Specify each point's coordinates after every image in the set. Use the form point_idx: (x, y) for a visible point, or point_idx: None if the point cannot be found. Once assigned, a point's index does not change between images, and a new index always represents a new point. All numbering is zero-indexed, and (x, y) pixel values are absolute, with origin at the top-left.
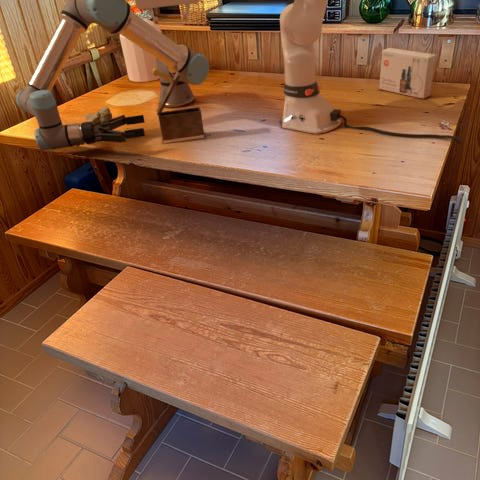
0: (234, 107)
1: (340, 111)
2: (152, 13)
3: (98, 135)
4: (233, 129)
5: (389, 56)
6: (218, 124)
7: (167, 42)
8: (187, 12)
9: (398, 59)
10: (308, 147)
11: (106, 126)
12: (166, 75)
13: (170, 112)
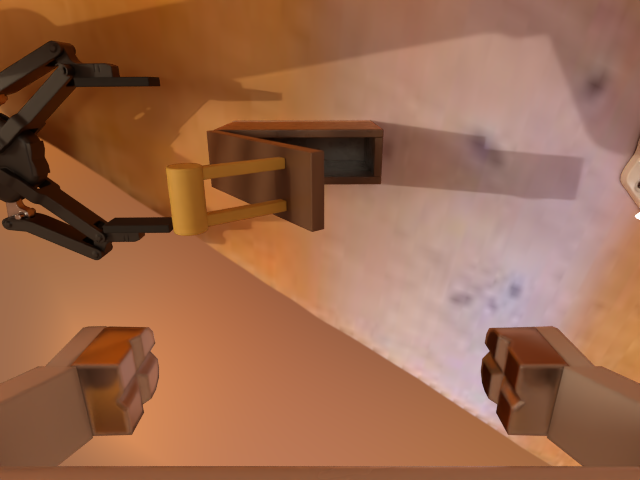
0: None
1: None
2: (13, 402)
3: (17, 229)
4: (473, 129)
5: None
6: (436, 57)
7: None
8: (591, 451)
9: None
10: (612, 328)
11: (19, 151)
12: (249, 167)
13: (263, 137)
